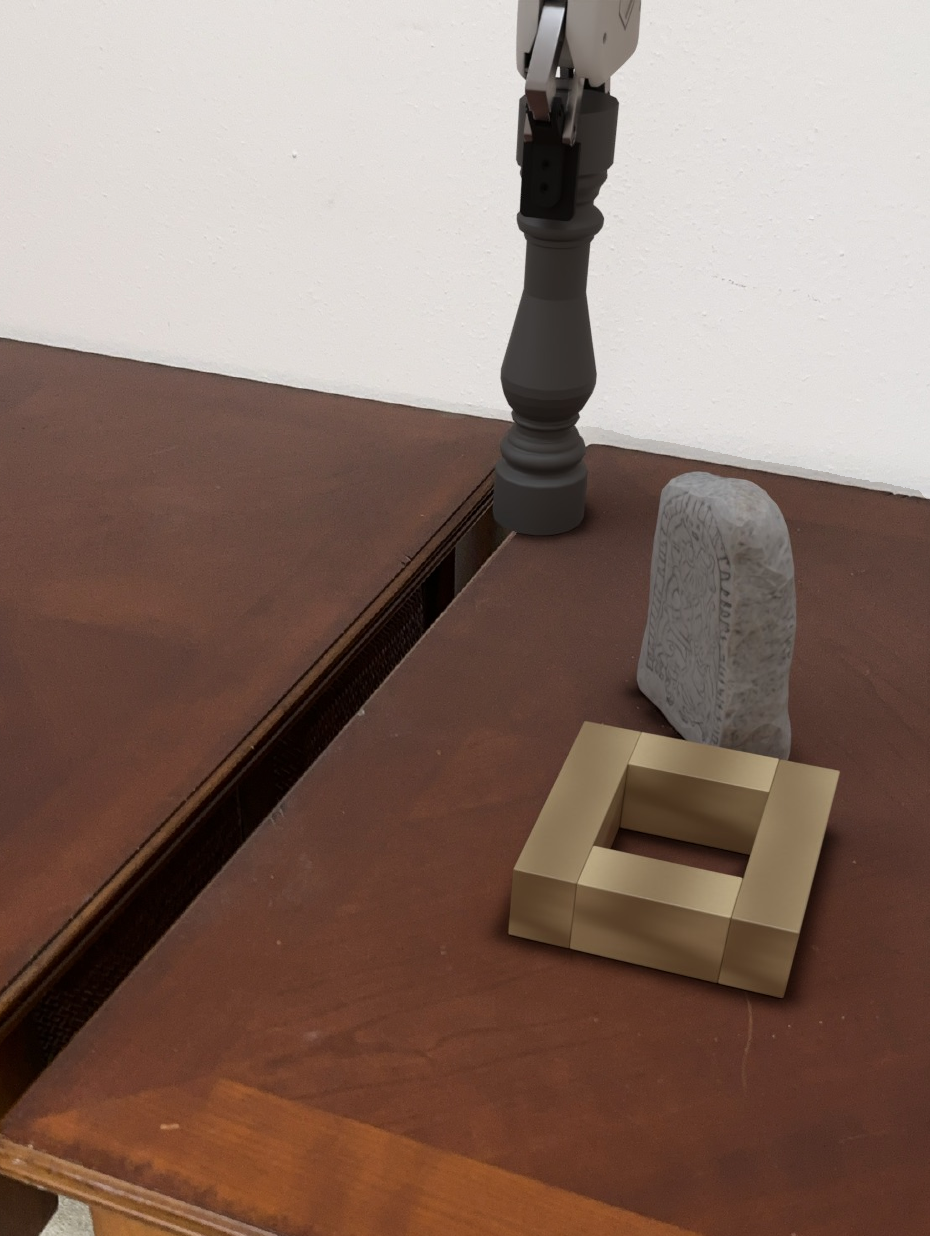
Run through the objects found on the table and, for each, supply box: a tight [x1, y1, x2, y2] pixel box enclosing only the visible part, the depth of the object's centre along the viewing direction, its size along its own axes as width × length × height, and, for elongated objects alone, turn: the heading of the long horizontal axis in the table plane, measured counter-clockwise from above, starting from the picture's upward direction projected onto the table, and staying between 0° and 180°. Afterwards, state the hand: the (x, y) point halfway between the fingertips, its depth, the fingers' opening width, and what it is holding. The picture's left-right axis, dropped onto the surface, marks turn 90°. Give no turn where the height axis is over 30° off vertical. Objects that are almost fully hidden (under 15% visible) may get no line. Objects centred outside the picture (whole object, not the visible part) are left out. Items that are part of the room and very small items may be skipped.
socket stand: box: [508, 720, 841, 999], centre depth 74 cm, size 13×13×4 cm
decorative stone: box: [636, 470, 797, 761], centre depth 80 cm, size 11×6×15 cm, turn 21°
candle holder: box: [492, 89, 620, 536], centre depth 96 cm, size 6×6×25 cm
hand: (561, 197), depth 91 cm, fingers closed on candle holder, 5 cm apart
